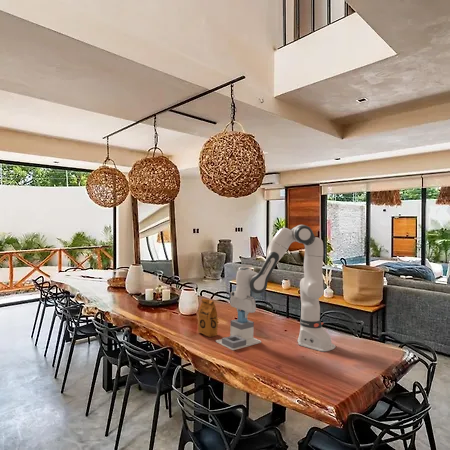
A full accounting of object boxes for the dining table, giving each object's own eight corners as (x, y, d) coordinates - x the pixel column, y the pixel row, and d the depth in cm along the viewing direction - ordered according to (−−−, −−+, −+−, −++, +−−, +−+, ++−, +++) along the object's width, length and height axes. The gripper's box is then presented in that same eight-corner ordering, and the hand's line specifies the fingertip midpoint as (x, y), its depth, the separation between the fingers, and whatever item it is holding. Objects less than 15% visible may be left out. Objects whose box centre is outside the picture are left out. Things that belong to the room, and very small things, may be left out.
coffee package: (207, 338, 209) (208, 302, 209) (195, 333, 219) (196, 298, 219) (220, 335, 216) (220, 300, 216) (208, 330, 225) (209, 296, 225)
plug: (247, 324, 209) (247, 309, 209) (242, 325, 207) (242, 310, 207) (242, 322, 213) (243, 308, 212) (237, 324, 210) (237, 309, 210)
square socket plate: (261, 342, 205) (261, 324, 205) (232, 350, 191) (233, 330, 191) (243, 335, 217) (244, 317, 217) (215, 341, 204) (216, 323, 204)
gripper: (258, 296, 203) (258, 320, 203) (236, 290, 219) (236, 312, 219) (250, 298, 199) (250, 321, 199) (228, 292, 215) (228, 313, 216)
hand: (242, 316), depth 210 cm, fingers closed on plug, 4 cm apart
